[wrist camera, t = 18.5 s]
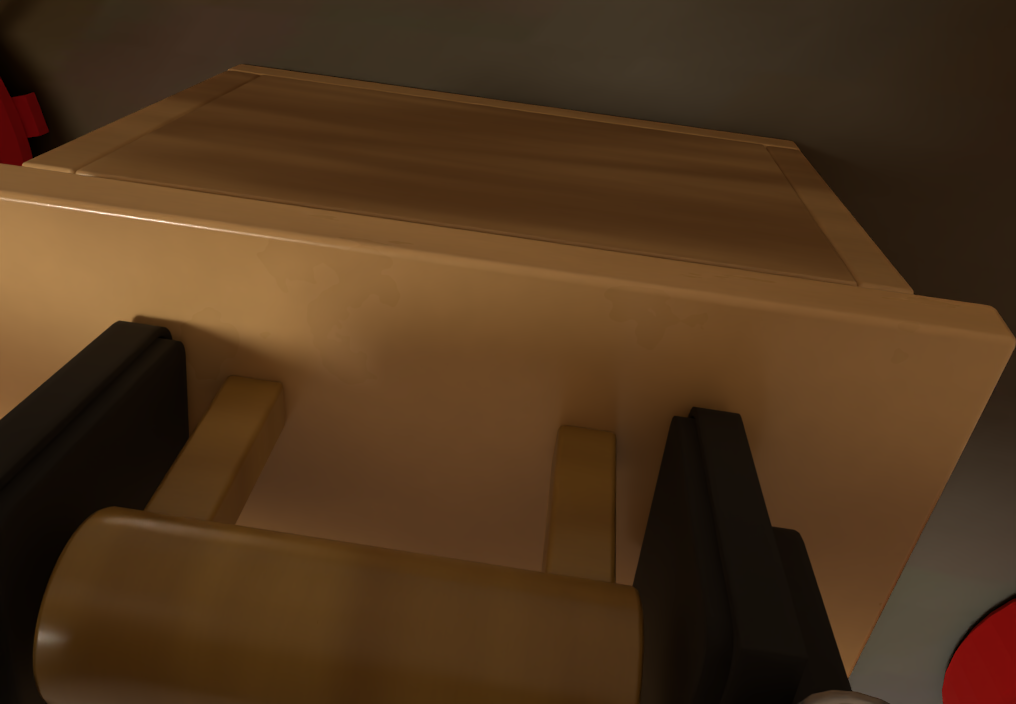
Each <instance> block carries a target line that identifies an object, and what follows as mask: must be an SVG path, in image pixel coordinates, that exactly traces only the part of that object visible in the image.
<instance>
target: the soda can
mask: <svg viewBox="0 0 1016 704" xmlns="http://www.w3.org/2000/svg"><path fill="white" fill-rule="evenodd" d="M942 697H943V704H1016V598H1014V599H1012V600H1010V601H1009V602H1007V603H1006V604H1004V605H1002V606H1001V607H999V608H998V609H996V610H994V611H993V612H991V613H990V614H989V615H988V616H986V617H985V618H984V619H983V620H982V621H981V622H980V623H978V624H977V625H976V626H975V627H974V628H973V629H972V630H971V632H970V633H969V634H968V635H967V637H966V638H965V639H964V641H963V642H962V643H961V644H960V646H959V647H958V649H957V650H956V652H955V654H954V656H953V658H952V660H951V662H950V664H949V666H948V668H947V670H946V673H945V678H944V683H943V688H942Z"/></svg>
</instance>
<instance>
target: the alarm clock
mask: <svg viewBox="0 0 1016 704" xmlns="http://www.w3.org/2000/svg"><path fill="white" fill-rule="evenodd" d="M48 132H49V130H48V127H47V124H46V122H45V119H44V117H43V114H42V111H41V109H40V106H39V103H38V101H37V98H36V96H35V93H34V92H33V93H30V94H27V95H23V96H17V97H11V96H10V95H9V93H8V91H7V89H6V87H5V85H4V83H3V81H2V79H1V78H0V163H2V164H9V165H16V166H22V164H23V163H24V162H26V161H28V160H30V159H33V157H32V153H31V149H30V145H29V142H28V139H27V138H29V137H35V136H41V135H43V134H46V133H48Z"/></svg>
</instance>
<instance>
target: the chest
mask: <svg viewBox="0 0 1016 704" xmlns="http://www.w3.org/2000/svg"><path fill="white" fill-rule="evenodd" d="M22 166H23V167H30V168H37V169H44V170H51V171H58V172H65V173H72V174H79V175H86V176H93V177H100V178H106V179H113V180H120V181H127V182H134V183H141V184H148V185H155V186H162V187H169V188H176V189H183V190H190V191H197V192H204V193H211V194H218V195H225V196H232V197H239V198H246V199H253V200H260V201H266V202H273V203H280V204H287V205H294V206H301V207H308V208H315V209H322V210H329V211H336V212H343V213H350V214H357V215H364V216H371V217H378V218H385V219H392V220H399V221H406V222H413V223H420V224H427V225H433V226H440V227H447V228H454V229H461V230H468V231H475V232H482V233H489V234H496V235H503V236H510V237H517V238H524V239H531V240H538V241H545V242H552V243H559V244H566V245H573V246H580V247H587V248H594V249H600V250H607V251H614V252H621V253H628V254H635V255H642V256H649V257H656V258H663V259H670V260H677V261H684V262H691V263H698V264H705V265H712V266H719V267H726V268H733V269H740V270H747V271H754V272H760V273H767V274H774V275H781V276H788V277H795V278H802V279H809V280H816V281H823V282H830V283H837V284H844V285H851V286H858V287H865V288H872V289H879V290H886V291H893V292H900V293H907V294H914V293H913V290H912V288H911V287H910V286H909V285H908V283H907V282H906V281H905V280H904V278H903V277H902V276H901V275H900V274H899V272H898V271H897V270H896V269H895V267H894V266H893V265H892V264H891V262H890V261H889V260H888V259H887V257H886V256H885V255H884V254H883V253H882V251H881V250H880V249H879V248H878V246H877V245H876V244H875V243H874V241H873V240H872V239H871V238H870V236H869V235H868V234H867V233H866V232H865V230H864V229H863V228H862V227H861V225H860V224H859V223H858V222H857V220H856V219H855V218H854V217H853V216H852V214H851V213H850V212H849V211H848V209H847V208H846V207H845V206H844V204H843V203H842V202H841V201H840V199H839V198H838V197H837V196H836V195H835V193H834V192H833V191H832V190H831V188H830V187H829V186H828V185H827V183H826V182H825V181H824V180H823V178H822V177H821V176H820V175H819V174H818V172H817V171H816V170H815V169H814V167H813V166H812V165H811V164H810V162H809V161H808V160H807V159H806V158H805V156H804V155H803V154H802V153H801V151H800V149H799V148H798V147H797V145H796V144H795V143H794V142H793V141H789V140H782V139H774V138H767V137H760V136H753V135H746V134H739V133H731V132H724V131H717V130H710V129H703V128H696V127H689V126H681V125H674V124H667V123H660V122H653V121H646V120H638V119H631V118H624V117H617V116H610V115H603V114H595V113H588V112H581V111H574V110H567V109H560V108H553V107H545V106H538V105H531V104H524V103H517V102H510V101H502V100H495V99H488V98H481V97H474V96H467V95H459V94H452V93H445V92H438V91H431V90H424V89H416V88H409V87H402V86H395V85H388V84H381V83H374V82H366V81H359V80H352V79H345V78H338V77H331V76H323V75H316V74H309V73H302V72H295V71H288V70H280V69H273V68H266V67H259V66H252V65H245V64H239V65H237V66H235V67H233V68H231V69H228V71H225V72H223V73H221V74H218V75H216V76H214V77H212V78H210V79H207V80H205V81H203V82H201V83H199V84H196V85H194V86H192V87H190V88H187V89H185V90H183V91H181V92H179V93H176V94H174V95H172V96H170V97H168V98H165V99H163V100H161V101H159V102H157V103H154V104H152V105H150V106H148V107H145V108H143V109H141V110H139V111H137V112H134V113H132V114H130V115H128V116H126V117H123V118H121V119H119V120H117V121H114V122H112V123H110V124H108V125H106V126H103V127H101V128H99V129H97V130H95V131H92V132H90V133H88V134H86V135H84V136H81V137H79V138H77V139H75V140H72V141H70V142H68V143H66V144H64V145H61V146H59V147H57V148H55V149H53V150H50V151H48V152H46V153H44V154H41V155H39V156H37V157H35V158H33V159H30V160H28V161H26V162H24V163H23V164H22Z"/></svg>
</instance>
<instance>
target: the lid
mask: <svg viewBox="0 0 1016 704" xmlns="http://www.w3.org/2000/svg"><path fill="white" fill-rule="evenodd" d="M117 321H127V322H134V323H141V324H147V325H154V326H161V327H166V328H167V329H168V330H169V331H170V333H171V336H172V340H176V341H181V342H182V343H183V345H184V348H185V353H186V373H187V397H188V420H189V439H188V440H187V442H186V443H185V445H184V447H183V448H182V450H181V451H180V453H179V455H178V456H177V458H176V459H175V461H174V462H173V464H172V466H171V467H170V469H169V470H168V472H167V474H166V475H165V477H164V478H163V480H162V481H161V483H160V485H159V486H158V488H157V489H156V491H155V493H154V494H153V496H152V497H151V499H150V501H149V502H148V504H147V505H146V507H145V508H144V510H143V511H142V510H136V509H129V508H123V507H116V506H113V507H107V508H103V509H100V510H98V511H96V512H95V513H93V514H91V515H90V516H89V517H88V518H87V519H85V520H84V522H83V523H82V524H81V525H80V526H79V527H78V528H77V529H76V531H75V532H74V533H73V535H72V536H71V538H70V539H69V541H68V542H67V544H66V545H65V547H64V549H63V551H62V553H61V554H60V556H59V558H58V560H57V562H56V565H55V567H54V569H53V571H52V574H51V576H50V579H49V581H48V584H47V587H46V590H45V592H44V595H43V599H42V602H41V606H40V610H39V614H38V618H37V623H36V629H35V635H34V644H33V673H34V679H35V684H36V687H37V690H38V693H39V694H40V696H41V698H42V699H43V700H44V701H45V702H46V703H47V704H640V699H641V689H642V676H643V659H644V619H643V609H642V603H641V599H640V595H639V592H638V590H637V589H636V588H634V587H633V581H634V577H635V573H636V569H637V564H638V560H639V556H640V551H641V547H642V543H643V539H644V534H645V530H646V526H647V522H648V517H649V513H650V509H651V504H652V500H653V496H654V492H655V487H656V483H657V479H658V474H659V470H660V466H661V462H662V457H663V453H664V449H665V445H666V440H667V436H668V432H669V428H670V424H671V421H672V418H673V417H674V416H680V417H687V418H688V415H689V413H690V410H691V409H692V407H699V408H706V409H713V410H719V411H726V412H733V413H739V414H740V415H741V417H742V421H743V424H744V428H745V432H746V435H747V439H748V442H749V446H750V450H751V453H752V457H753V460H754V464H755V468H756V471H757V475H758V479H759V482H760V486H761V489H762V493H763V497H764V500H765V504H766V507H767V511H768V515H769V518H770V522H771V525H772V526H774V527H780V528H787V529H793V530H796V531H797V532H799V533H800V535H801V537H802V539H803V541H804V543H805V547H806V550H807V553H808V556H809V559H810V562H811V565H812V568H813V571H814V575H815V578H816V581H817V584H818V587H819V590H820V593H821V596H822V599H823V603H824V606H825V609H826V612H827V615H828V618H829V621H830V624H831V627H832V631H833V634H834V637H835V640H836V643H837V646H838V649H839V652H840V655H841V659H842V662H843V665H844V668H845V671H846V674H847V677H848V678H849V676H850V674H851V672H852V670H853V668H854V666H855V664H856V662H857V660H858V658H859V656H860V654H861V652H862V650H863V648H864V646H865V645H866V643H867V641H868V639H869V637H870V635H871V633H872V631H873V629H874V627H875V625H876V623H877V621H878V619H879V617H880V615H881V613H882V611H883V609H884V607H885V605H886V603H887V601H888V599H889V597H890V595H891V593H892V591H893V589H894V587H895V585H896V583H897V581H898V579H899V577H900V575H901V573H902V571H903V569H904V567H905V565H906V563H907V561H908V559H909V557H910V555H911V553H912V551H913V549H914V547H915V545H916V543H917V541H918V539H919V537H920V535H921V533H922V531H923V529H924V527H925V525H926V523H927V521H928V519H929V517H930V515H931V513H932V511H933V509H934V507H935V505H936V503H937V501H938V499H939V497H940V495H941V493H942V491H943V489H944V487H945V485H946V483H947V481H948V479H949V478H950V476H951V474H952V472H953V470H954V468H955V466H956V464H957V462H958V460H959V458H960V456H961V454H962V452H963V450H964V448H965V446H966V444H967V442H968V440H969V438H970V436H971V434H972V432H973V430H974V428H975V426H976V424H977V422H978V420H979V418H980V416H981V414H982V412H983V410H984V408H985V406H986V404H987V402H988V400H989V398H990V396H991V394H992V392H993V390H994V388H995V386H996V384H997V382H998V380H999V378H1000V376H1001V374H1002V372H1003V370H1004V368H1005V366H1006V364H1007V362H1008V360H1009V358H1010V356H1011V354H1012V352H1013V350H1014V348H1015V344H1016V338H1015V337H1014V335H1013V334H1012V332H1011V331H1010V329H1009V328H1008V326H1007V325H1006V323H1005V322H1004V320H1003V319H1002V317H1001V316H1000V314H999V313H998V311H997V310H996V309H995V308H993V307H992V306H989V305H983V304H976V303H969V302H962V301H955V300H948V299H941V298H934V297H927V296H921V295H914V294H907V293H900V292H893V291H886V290H879V289H872V288H865V287H858V286H851V285H844V284H837V283H830V282H823V281H816V280H809V279H802V278H795V277H788V276H781V275H774V274H767V273H760V272H754V271H747V270H740V269H733V268H726V267H719V266H712V265H705V264H698V263H691V262H684V261H677V260H670V259H663V258H656V257H649V256H642V255H635V254H628V253H621V252H614V251H607V250H600V249H594V248H587V247H580V246H573V245H566V244H559V243H552V242H545V241H538V240H531V239H524V238H517V237H510V236H503V235H496V234H489V233H482V232H475V231H468V230H461V229H454V228H447V227H440V226H433V225H427V224H420V223H413V222H406V221H399V220H392V219H385V218H378V217H371V216H364V215H357V214H350V213H343V212H336V211H329V210H322V209H315V208H308V207H301V206H294V205H287V204H280V203H273V202H266V201H260V200H253V199H246V198H239V197H232V196H225V195H218V194H211V193H204V192H197V191H190V190H183V189H176V188H169V187H162V186H155V185H148V184H141V183H134V182H127V181H120V180H113V179H106V178H100V177H93V176H86V175H79V174H72V173H65V172H58V171H51V170H44V169H37V168H30V167H23V166H16V165H9V164H2V163H0V420H1V419H2V418H3V417H4V416H5V415H6V414H8V413H9V412H10V411H11V410H12V409H13V408H15V407H16V406H17V405H18V404H19V403H20V402H22V401H23V400H24V399H25V398H26V397H28V396H29V395H30V394H31V393H32V392H33V391H35V390H36V389H37V388H38V387H39V386H40V385H42V384H43V383H44V382H45V381H46V380H47V379H49V378H50V377H51V376H52V375H53V374H55V373H56V372H57V371H58V370H59V369H60V368H62V367H63V366H64V365H65V364H66V363H67V362H69V361H70V360H71V359H72V358H73V357H75V356H76V355H77V354H78V353H79V352H80V351H82V350H83V349H84V348H85V347H86V346H87V345H89V344H90V343H91V342H92V341H93V340H94V339H96V338H97V337H98V336H99V335H100V334H102V333H103V332H104V331H105V330H106V329H107V328H109V327H110V326H111V325H112V324H113V323H115V322H117Z"/></svg>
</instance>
